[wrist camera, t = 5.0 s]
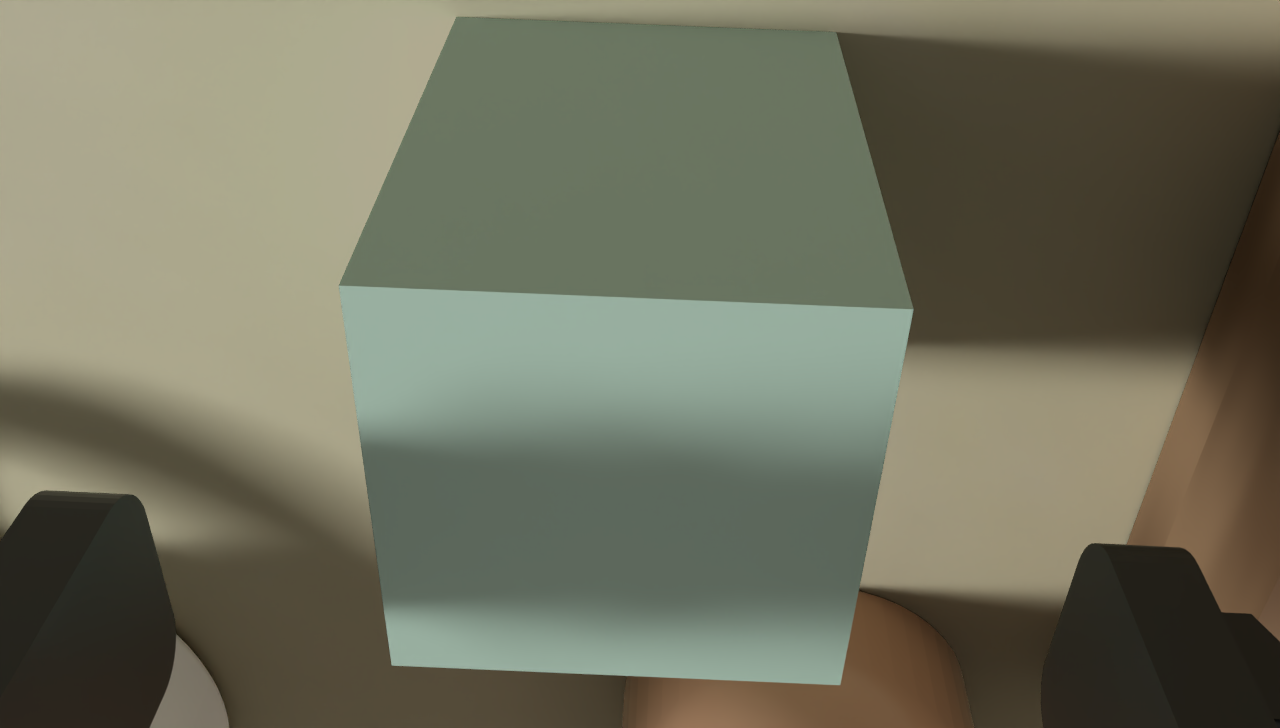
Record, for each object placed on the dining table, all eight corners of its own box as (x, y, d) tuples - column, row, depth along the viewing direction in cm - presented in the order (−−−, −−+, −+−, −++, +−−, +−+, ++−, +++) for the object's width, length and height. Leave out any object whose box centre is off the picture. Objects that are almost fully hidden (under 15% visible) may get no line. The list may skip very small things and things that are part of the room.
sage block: (456, 16, 14) (338, 284, 9) (835, 30, 14) (912, 310, 9) (476, 329, 17) (391, 665, 12) (795, 342, 17) (840, 684, 12)
